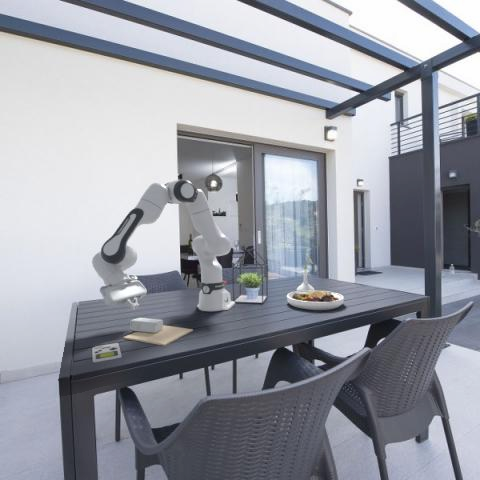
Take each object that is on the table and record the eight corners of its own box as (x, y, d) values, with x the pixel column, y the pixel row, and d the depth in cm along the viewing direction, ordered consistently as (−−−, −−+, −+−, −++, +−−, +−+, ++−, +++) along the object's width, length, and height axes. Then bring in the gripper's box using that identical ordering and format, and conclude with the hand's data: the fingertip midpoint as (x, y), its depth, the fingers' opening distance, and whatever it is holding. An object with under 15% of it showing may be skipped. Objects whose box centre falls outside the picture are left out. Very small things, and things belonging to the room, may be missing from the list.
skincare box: (129, 330, 129) (154, 333, 125) (129, 320, 129) (154, 322, 125) (139, 327, 135) (163, 329, 131) (139, 317, 135) (163, 319, 131)
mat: (154, 325, 139) (154, 323, 139) (192, 330, 130) (192, 329, 130) (123, 338, 123) (123, 337, 123) (164, 345, 114) (164, 344, 114)
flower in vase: (310, 294, 195) (310, 254, 194) (293, 293, 201) (293, 254, 200) (317, 291, 206) (317, 253, 205) (301, 289, 212) (301, 252, 211)
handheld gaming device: (118, 342, 118) (122, 356, 104) (118, 344, 118) (122, 358, 104) (92, 346, 114) (92, 361, 100) (92, 348, 114) (92, 364, 100)
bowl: (277, 301, 181) (277, 287, 181) (323, 297, 190) (323, 284, 190) (304, 314, 152) (304, 298, 152) (355, 308, 162) (355, 293, 161)
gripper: (101, 282, 125) (120, 309, 121) (138, 274, 143) (156, 297, 139) (94, 292, 127) (112, 319, 123) (131, 284, 145) (148, 306, 141)
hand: (136, 307), depth 131 cm, fingers closed
